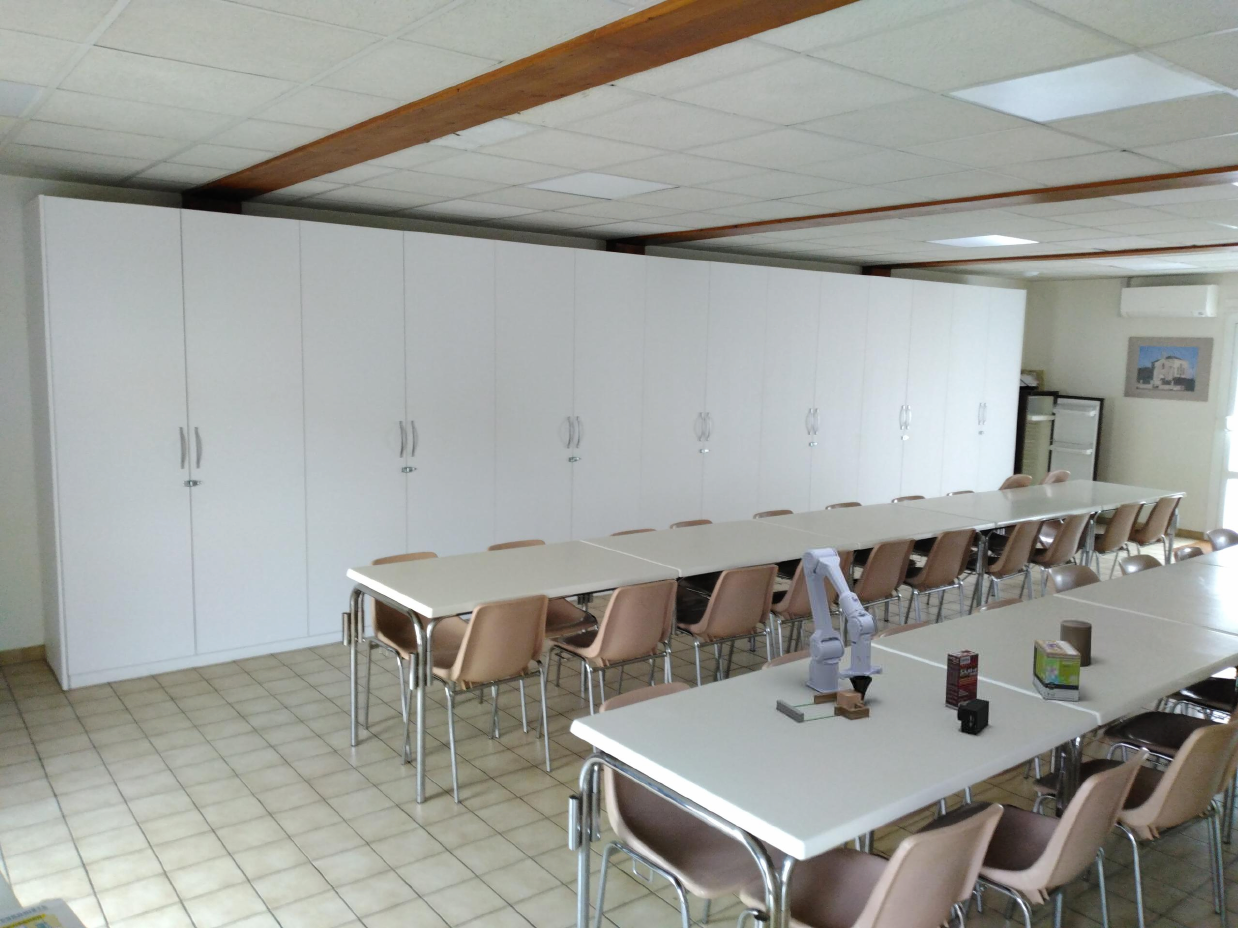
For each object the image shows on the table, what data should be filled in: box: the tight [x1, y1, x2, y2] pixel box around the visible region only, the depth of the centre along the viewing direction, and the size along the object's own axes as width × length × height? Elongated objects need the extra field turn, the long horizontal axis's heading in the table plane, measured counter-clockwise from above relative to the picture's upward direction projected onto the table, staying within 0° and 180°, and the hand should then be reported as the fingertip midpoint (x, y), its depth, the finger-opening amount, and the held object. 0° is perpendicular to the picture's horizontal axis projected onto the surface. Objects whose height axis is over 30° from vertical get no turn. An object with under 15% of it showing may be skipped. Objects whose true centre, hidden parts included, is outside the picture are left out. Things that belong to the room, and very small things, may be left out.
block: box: [836, 688, 862, 709], centre depth 268 cm, size 5×5×4 cm
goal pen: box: [776, 699, 836, 723], centre depth 262 cm, size 12×12×2 cm
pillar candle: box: [1059, 619, 1093, 667], centre depth 308 cm, size 10×10×15 cm
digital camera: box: [956, 697, 990, 737], centre depth 250 cm, size 10×5×7 cm, turn 141°
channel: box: [813, 691, 870, 721], centre depth 265 cm, size 16×10×2 cm, turn 22°
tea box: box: [1032, 639, 1081, 702], centre depth 278 cm, size 15×10×15 cm
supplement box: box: [944, 649, 979, 711], centre depth 267 cm, size 9×5×16 cm, turn 120°
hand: (859, 699), depth 270 cm, fingers closed
